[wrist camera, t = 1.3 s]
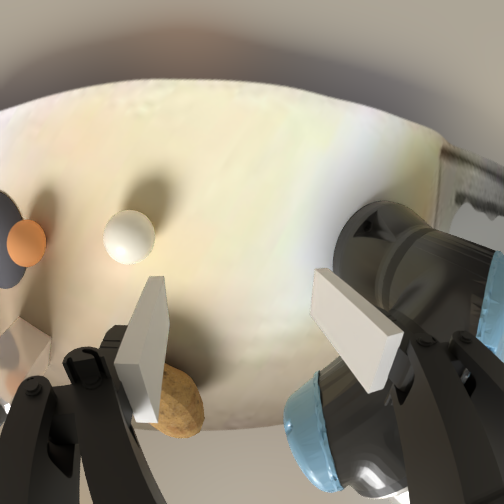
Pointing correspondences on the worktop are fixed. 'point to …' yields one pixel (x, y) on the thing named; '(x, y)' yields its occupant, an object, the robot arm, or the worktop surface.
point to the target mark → (3, 267)
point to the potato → (179, 405)
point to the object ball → (26, 243)
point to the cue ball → (129, 237)
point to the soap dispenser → (20, 359)
